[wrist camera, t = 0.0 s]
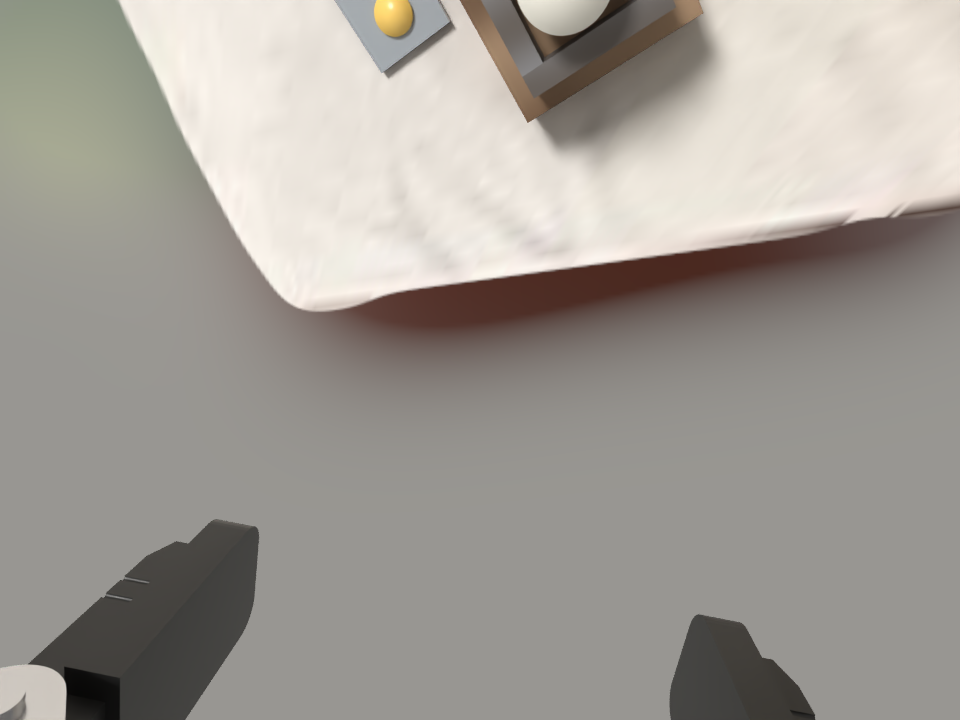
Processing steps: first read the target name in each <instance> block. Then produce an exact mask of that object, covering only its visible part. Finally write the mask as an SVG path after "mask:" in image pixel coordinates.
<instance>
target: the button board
mask: <svg viewBox="0 0 960 720" xmlns="http://www.w3.org/2000/svg"><path fill="white" fill-rule="evenodd" d="M460 1H461V3H462V5H463V6H464V8H465V10H466V12H467V14H468V16H469V17H470V19H471V21H472V23H473V25H474V26H475V28H476V30H477V32H478V34H479V35H480V37H481V39H482V41H483V43H484V45H485V46H486V48H487V50H488V52H489V54H490V55H491V57H492V59H493V61H494V63H495V64H496V66H497V68H498V70H499V72H500V73H501V75H502V77H503V79H504V81H505V83H506V84H507V86H508V88H509V90H510V92H511V93H512V95H513V97H514V99H515V101H516V102H517V104H518V106H519V108H520V110H521V111H522V113H523V115H524V117H525V119H526V121H527V122H530V121H532V120H533V119H535V118H536V117H538V116H540V115H541V114H543V113H544V112H546V111H548V110H549V109H551V108H552V107H554V106H556V105H557V104H559V103H560V102H562V101H564V100H565V99H567V98H568V97H570V96H572V95H573V94H575V93H576V92H578V91H580V90H581V89H583V88H584V87H586V86H588V85H589V84H591V83H592V82H594V81H596V80H597V79H599V78H600V77H602V76H604V75H605V74H607V73H608V72H610V71H612V70H613V69H615V68H616V67H618V66H619V65H621V64H623V63H624V62H626V61H627V60H629V59H631V58H632V57H634V56H635V55H637V54H639V53H640V52H642V51H643V50H645V49H647V48H648V47H650V46H651V45H653V44H655V43H656V42H658V41H659V40H661V39H663V38H664V37H666V36H667V35H669V34H671V33H672V32H674V31H675V30H677V29H679V28H680V27H682V26H683V25H685V24H687V23H688V22H690V21H691V20H693V19H695V18H696V17H698V16H699V15H701V14H703V11H702V8H701V5H700V3H699V0H609V3H608V5H607V6H606V8H605V10H604V11H603V13H602V14H601V15H600V16H599V18H598V19H597V20H596V21H595V22H594V23H593V24H591V25H590V26H589V27H587V28H586V29H584V30H582V31H580V32H578V33H575V34H571V35H566V36H556V35H551V34H548V33H545V32H543V31H541V30H539V29H538V28H536V27H535V26H533V25H532V24H531V23H530V22H529V21H528V19H527V18H526V17H525V15H524V14H523V12H522V10H521V8H520V6H519V4H518V0H460Z"/></svg>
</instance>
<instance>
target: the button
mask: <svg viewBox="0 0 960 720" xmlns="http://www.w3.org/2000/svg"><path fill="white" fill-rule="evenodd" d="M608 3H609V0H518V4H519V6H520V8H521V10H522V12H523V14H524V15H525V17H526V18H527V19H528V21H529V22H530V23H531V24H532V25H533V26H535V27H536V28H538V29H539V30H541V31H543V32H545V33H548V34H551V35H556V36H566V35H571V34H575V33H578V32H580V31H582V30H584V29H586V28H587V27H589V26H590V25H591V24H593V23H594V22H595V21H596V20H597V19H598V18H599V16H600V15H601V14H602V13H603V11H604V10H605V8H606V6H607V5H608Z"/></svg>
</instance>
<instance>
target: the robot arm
mask: <svg viewBox="0 0 960 720" xmlns="http://www.w3.org/2000/svg"><path fill="white" fill-rule="evenodd" d="M258 543H259V532H258V529H257V528H256V527H254V526H248V525H244V524H238V523H233V522H228V521H223V520H218V519H215V520H213V521H211V522H210V523H209V524H208V525H207V526H206V527H205V528H204V529H203V530H202V531H201V532H200V533H199V534H198V535H197V536H196V537H195V538H194V539H193V540H192V541H191V542H190V543H188V544H187V543H182V542H177V541H176V542H174V543H172V544H170V545H168V546H166V547H164V548H162V549H160V550H158V551H156V552H154V553H152V554H150V555H148V556H146V557H145V558H144V559H143V560H142V561H141V562H140V563H138V564H137V565H136V566H135V567H134V568H133V569H132V570H131V571H130V572H129V573H128V574H126V575H125V578H124V580H123V581H122V580H120V581H119V582H118V583H116V585H114V586H113V587H112V588H111V589H110V590H109V591H108V592H107V593H106V596H105V597H104V598H102V597H101V598H100V599H99V600H98V601H97V602H96V603H95V604H93V605H92V606H91V607H90V608H89V609H88V610H87V611H86V612H85V613H84V614H82V615H81V616H80V617H79V618H78V619H77V620H76V621H75V622H74V623H73V624H71V625H70V626H69V627H68V628H67V629H66V630H65V631H64V632H63V633H62V634H61V635H60V636H59V637H57V638H56V639H55V640H54V641H53V642H52V643H51V644H50V645H48V646H47V647H46V648H45V649H44V650H43V651H42V652H41V653H40V654H39V655H38V656H36V657H35V658H34V659H33V660H32V661H31V662H30V663H29V664H28V665H15V666H9V667H4V668H0V720H185V719H186V718H187V716H188V715H189V713H190V712H191V710H192V709H193V707H194V706H195V704H196V702H197V701H198V699H199V698H200V696H201V695H202V694H203V692H204V691H205V689H206V688H207V686H208V685H209V683H210V682H211V680H212V679H213V677H214V676H215V674H216V673H217V671H218V670H219V668H220V667H221V665H222V664H223V662H224V661H225V659H226V658H227V656H228V655H229V653H230V652H231V650H232V649H233V647H234V646H235V644H236V642H237V641H238V640H239V638H240V636H241V635H242V633H243V631H244V629H245V627H246V625H247V623H248V620H249V617H250V614H251V611H252V607H253V602H254V593H255V581H256V569H257V555H258ZM670 716H671V720H815V714H814V712H813V711H812V709H811V707H810V705H809V704H808V702H807V700H806V698H805V697H804V695H803V693H802V692H801V690H800V688H799V687H798V685H797V684H796V683H795V682H794V681H793V680H792V679H791V678H790V677H789V676H788V675H787V674H786V673H785V672H784V671H783V670H782V669H781V668H780V667H779V666H778V665H777V664H776V663H775V662H774V661H773V660H771V659H766V658H762V657H761V655H760V653H759V651H758V649H757V647H756V646H755V644H754V642H753V640H752V638H751V636H750V634H749V632H748V631H747V629H746V627H745V626H744V625H743V624H742V623H740V622H735V621H730V620H725V619H720V618H715V617H709V616H704V615H696V616H695V617H694V618H693V620H692V621H691V624H690V627H689V630H688V633H687V636H686V640H685V643H684V646H683V649H682V652H681V655H680V659H679V662H678V665H677V668H676V672H675V675H674V678H673V681H672V685H671V690H670Z"/></svg>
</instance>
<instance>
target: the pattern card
mask: <svg viewBox="0 0 960 720" xmlns="http://www.w3.org/2000/svg"><path fill="white" fill-rule="evenodd" d="M335 2H336V3H337V5H338V6H339V8H340V10H341V11H342V13H343V14H344V16H345V17H346V19H347V20H348V22H349V23H350V25H351V27H352V28H353V30H354V31H355V33H356V34H357V36H358V37H359V39H360V40H361V42H362V44H363V45H364V47H365V48H366V50H367V51H368V53H369V54H370V56H371V57H372V59H373V61H374V62H375V64H376V65H377V67H378V68H379V70H380V71H381V73H383V72H384V71H385V70H387V69H388V68H389V67H391V66H392V65H393V64H395V63H396V62H397V61H399V60H400V59H401V58H403V57H404V56H405V55H407V54H408V53H409V52H411V51H412V50H413V49H415V48H416V47H417V46H419V45H420V44H421V43H423V42H424V41H425V40H427V39H428V38H429V37H431V36H432V35H433V34H435V33H436V32H437V31H439V30H440V29H441V28H443V27H444V26H445V25H446V24H448V23H449V22H450V21H451V20H450V19H449V17H448V15H447V13H446V11H445V10H444V8H443V6H442V4H441V3H440V1H439V0H335Z"/></svg>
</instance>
